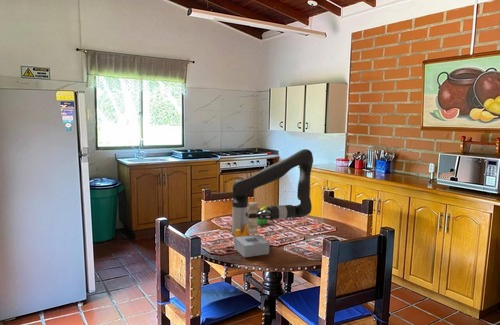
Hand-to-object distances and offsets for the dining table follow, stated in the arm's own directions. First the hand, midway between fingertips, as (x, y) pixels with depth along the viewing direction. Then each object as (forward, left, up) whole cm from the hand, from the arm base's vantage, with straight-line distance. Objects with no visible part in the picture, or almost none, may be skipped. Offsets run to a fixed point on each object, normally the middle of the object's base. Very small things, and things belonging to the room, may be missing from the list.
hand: (247, 215), depth 185 cm
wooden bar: (0, +3, -9) cm, 10 cm away
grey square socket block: (0, +3, -19) cm, 20 cm away
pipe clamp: (-20, +7, -20) cm, 29 cm away
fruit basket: (-47, +31, -20) cm, 60 cm away
